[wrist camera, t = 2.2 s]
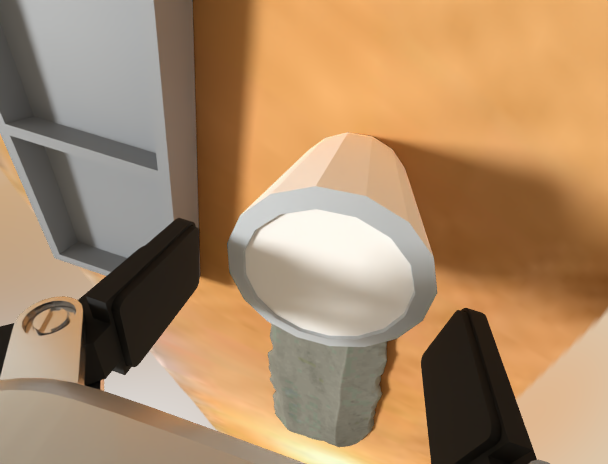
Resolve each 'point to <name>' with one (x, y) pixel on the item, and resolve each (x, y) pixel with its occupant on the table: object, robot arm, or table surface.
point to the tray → (101, 121)
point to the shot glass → (337, 247)
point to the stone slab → (325, 387)
